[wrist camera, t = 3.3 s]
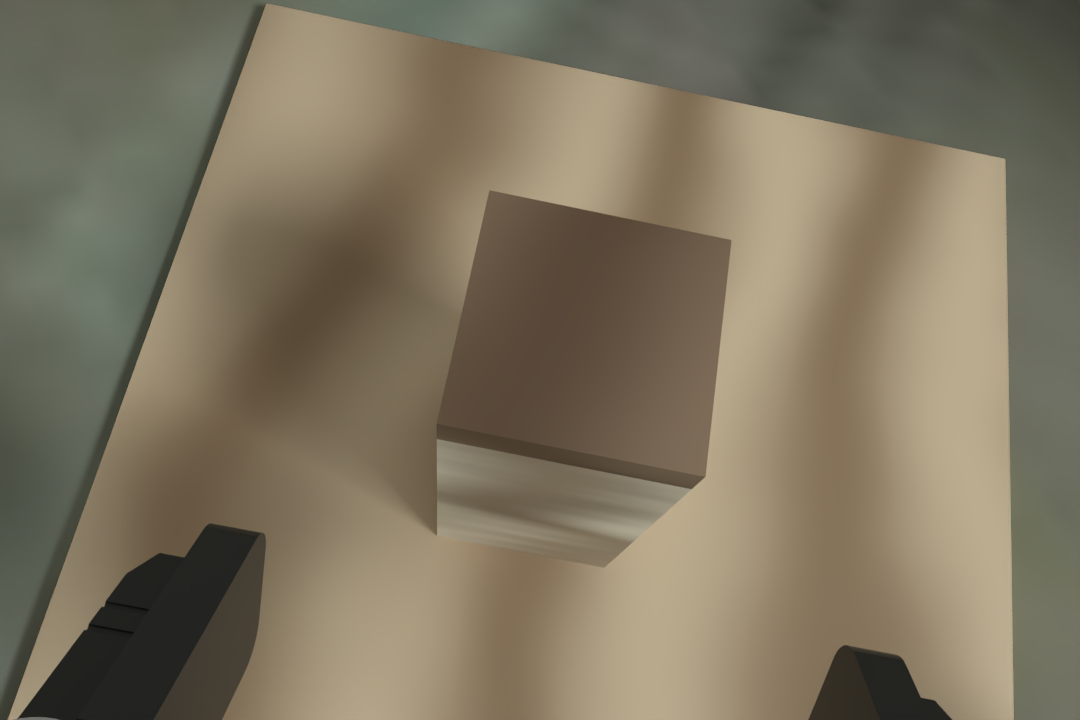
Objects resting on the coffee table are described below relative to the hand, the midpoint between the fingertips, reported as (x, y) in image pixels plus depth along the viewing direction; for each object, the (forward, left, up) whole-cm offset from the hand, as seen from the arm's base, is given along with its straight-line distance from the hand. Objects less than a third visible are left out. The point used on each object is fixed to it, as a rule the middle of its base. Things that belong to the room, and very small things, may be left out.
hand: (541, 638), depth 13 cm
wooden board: (-1, -7, -9) cm, 11 cm away
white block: (0, -5, -9) cm, 10 cm away
